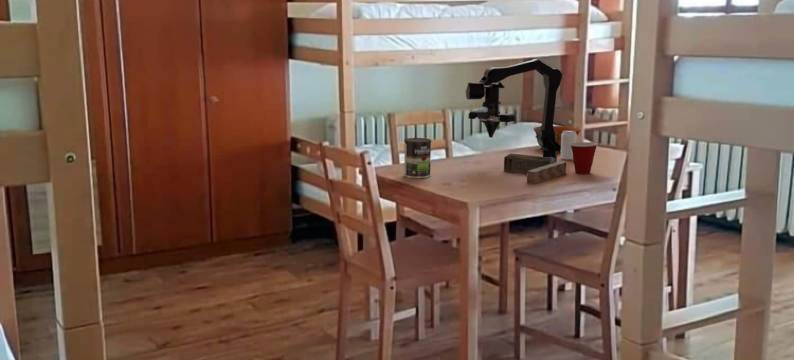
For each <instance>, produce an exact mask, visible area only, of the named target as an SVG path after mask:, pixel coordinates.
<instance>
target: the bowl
mask: <svg viewBox="0 0 794 360" xmlns="http://www.w3.org/2000/svg"><path fill="white" fill-rule="evenodd" d="M540 127H541V126H534V127H533V131H534V132H535V135H536V134H537V131H536V129H537V128H540ZM553 127H554V131H555V141H556V142H557V143H558V144H559V145H560V146H561V137H562V133H563V131H565V130H572V131H576V134H577V136H578V135H579V134H580V132H581V129H580V128H578V127H574V126H568V125H567V126H566V125H553ZM537 144H538V146H540V147H541V145H540V144H539V143H538V142H537ZM559 151H561V148H560V150H559Z"/></svg>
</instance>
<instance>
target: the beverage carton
mask: <svg viewBox="0 0 794 360" xmlns="http://www.w3.org/2000/svg"><path fill="white" fill-rule="evenodd" d="M552 163H555V158H553V157H543V156H538V155H528V154H521V153H520V154H519V153H509V154H507V155H506V156H504V158H503V171H504V172H511V173H519V174H527V171H529V170H533V169H536V168H539V167H542V166H545V165H549V164H552Z"/></svg>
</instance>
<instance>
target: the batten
mask: <svg viewBox="0 0 794 360" xmlns="http://www.w3.org/2000/svg"><path fill="white" fill-rule="evenodd" d="M564 174H567V161H564V160H563V161H562V160H559V161H558V160H557V162H555V163H552V164H549V165H545V166H542V167H539V168H536V169H533V170H529V171H527V173H526V184H530V185H535V184H538V183H542V182H545V181H547V180H549V179H553V178H556V177H558V176H562V175H564Z"/></svg>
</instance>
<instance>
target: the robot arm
mask: <svg viewBox="0 0 794 360" xmlns="http://www.w3.org/2000/svg"><path fill="white" fill-rule="evenodd" d="M530 71H531V72H532V71H536V72H537V73H538V74H540V75H541V76H542V77H543V79H542V80H543V85H544V88H545V89H544V90H545V91H544V103H543V113H542V119H541V120H542V121H541V126H539V127H540V128H537V129H536V131H537V134H536V133H535V138H536V142H537V144H538V143H539V144H540V145H541V146H540V145H539V144H538V145H539V146H540V148H541V149H542V157H553V158H555V162H558V159H557V158H558V152H560V151H561V150H560V148H561V146H560V145H559V144H558V143H557V142H556V141H555V131H554V127H553V126H554V119H555V111H556V109H555V108H556V100H557V91H558V89H559V88H560V86H561V84H562V83H561V82H562V78H563V73H562V71H561V70H560V69H559V68H554V67H551V66H549V65H548V64H546V63H544V62H543V61H542V60H540V59H536V58H533V59H532V60H527V61H523V62H520V63H516V64H511V65H508V66H495V67H488V68H486V69H485V71H484V73H483V76H482V78H481V79H480V80H479V82H467V86H466V90H465V97H466V100H470V101H471V100H473V101H474V100H482V98H484V101H483V102H482V106H481V107H480V108H478V109H477V110H471V111H470V112H469V113H468V117H467V118H468V119H469V120H476V119H478V120H480V122H481V123H483V124H484V126H485V129H486V131H487V135H488V137H489V138H493V136H494V134H495V133H496V131H497V128H498V126H499V125H500V123H511V122H515V121H516V117H515V114H514V113H506V112H505V113H502V114H501V111H500V107H499V106H500V105H501V103H502V101H500V89H505V88H506V87H505V85H503V84H502V82H501V81H504V80H505V79H507V78H508V77H509V78H510V77H511V76H515V75H520V74H524V73H528V72H530Z"/></svg>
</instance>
